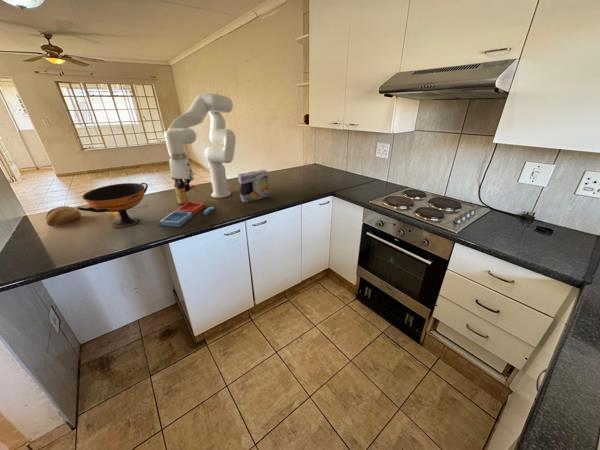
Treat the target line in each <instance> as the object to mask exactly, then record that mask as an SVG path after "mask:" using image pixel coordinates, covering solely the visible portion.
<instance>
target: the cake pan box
mask: <svg viewBox="0 0 600 450" xmlns="http://www.w3.org/2000/svg"><path fill="white" fill-rule="evenodd" d="M268 174H269V173H268V170H266V169H260V170H253V171H249V172H243V173H238V174H237V178H238V179H237V180H238V185H239V186H238V190H239V196H240V201H241V202H242V203H244V204H245V203H248V202H253V201H257V200H261V199H265V198H269V197H270V189H269V175H268Z"/></svg>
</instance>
